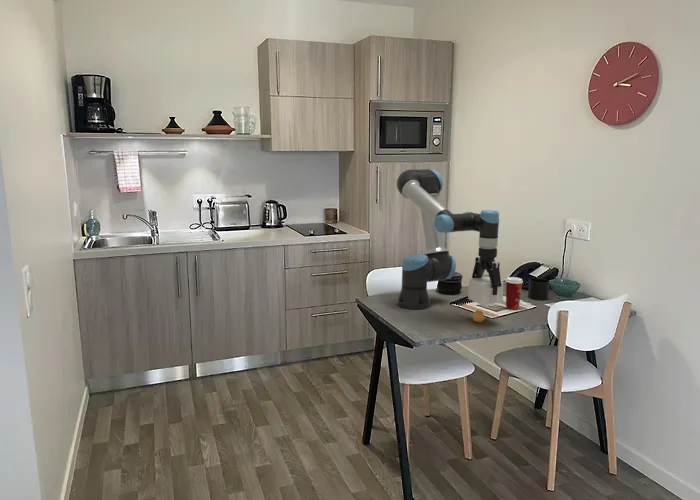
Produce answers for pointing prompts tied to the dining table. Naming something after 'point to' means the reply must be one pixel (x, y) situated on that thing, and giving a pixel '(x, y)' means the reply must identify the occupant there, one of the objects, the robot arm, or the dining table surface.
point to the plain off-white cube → (483, 291)
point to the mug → (538, 289)
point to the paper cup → (513, 292)
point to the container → (451, 285)
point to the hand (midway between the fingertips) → (485, 298)
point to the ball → (478, 316)
